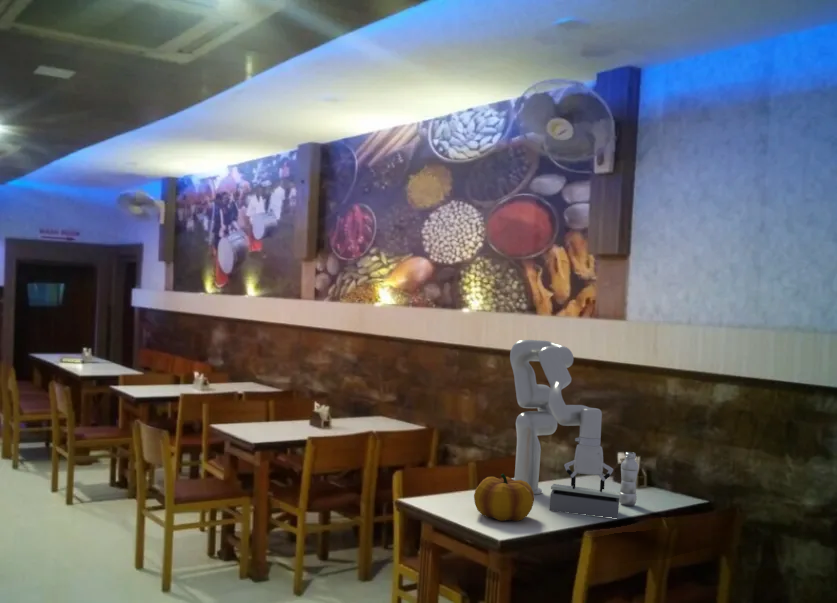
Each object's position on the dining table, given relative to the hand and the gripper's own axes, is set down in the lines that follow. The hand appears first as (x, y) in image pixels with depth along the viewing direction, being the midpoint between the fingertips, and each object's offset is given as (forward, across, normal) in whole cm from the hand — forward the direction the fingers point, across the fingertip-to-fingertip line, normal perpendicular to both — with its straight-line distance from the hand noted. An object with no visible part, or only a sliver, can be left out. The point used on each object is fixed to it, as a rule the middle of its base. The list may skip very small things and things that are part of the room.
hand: (587, 489), depth 280 cm
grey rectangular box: (+8, -1, +3) cm, 9 cm away
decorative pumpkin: (+8, -27, -21) cm, 35 cm away
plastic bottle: (+8, +14, +22) cm, 27 cm away
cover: (+1, -1, +3) cm, 3 cm away
